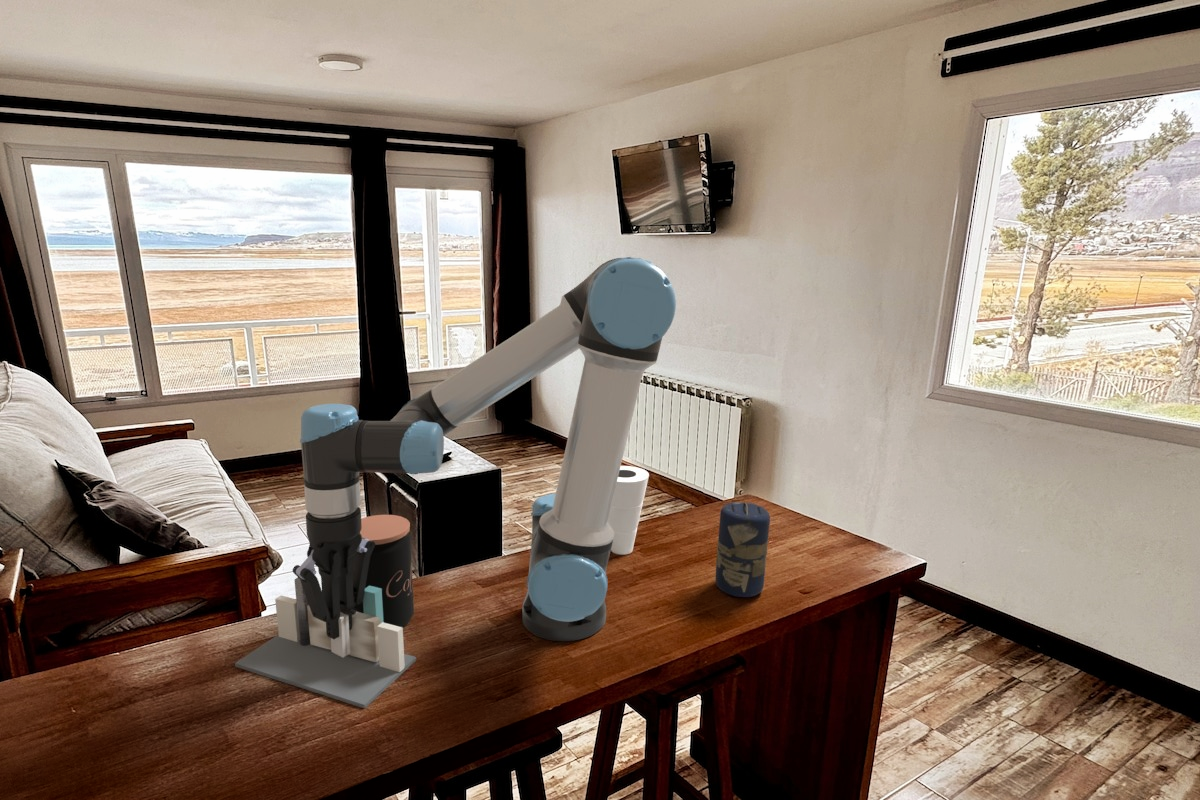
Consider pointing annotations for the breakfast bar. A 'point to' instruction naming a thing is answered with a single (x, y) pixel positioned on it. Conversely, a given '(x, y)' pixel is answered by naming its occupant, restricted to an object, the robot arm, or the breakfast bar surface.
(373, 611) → the bar
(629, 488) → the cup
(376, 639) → the gate
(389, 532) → the coffee jar
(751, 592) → the canister
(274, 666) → the mat
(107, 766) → the breakfast bar surface
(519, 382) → the robot arm
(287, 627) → the fence
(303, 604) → the hinge post
